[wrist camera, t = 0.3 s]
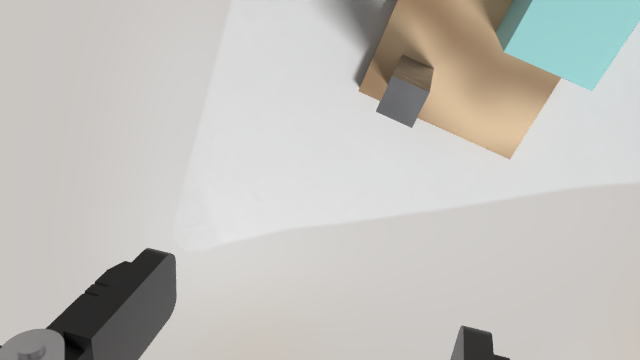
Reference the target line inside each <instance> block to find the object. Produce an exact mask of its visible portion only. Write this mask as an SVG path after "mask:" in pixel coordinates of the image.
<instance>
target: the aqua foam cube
mask: <svg viewBox="0 0 640 360" xmlns="http://www.w3.org/2000/svg"><path fill="white" fill-rule="evenodd" d="M639 21H640V0H513V2H512V4H511V6H510V7H509V9H508V11H507V13H506V15H505V17H504V19H503V20H502V22H501V24H500V26H499V28H498V30H497V32H496V35H497V38H498V40H499V42H500V45H501V47H502V49H503V52H505V53H507V54H509V55H511V56H514V57H516V58H518V59H520V60H523V61H525V62H527V63H530V64H532V65H534V66H536V67H539V68H541V69H543V70H545V71H548V72H550V73H552V74H555V75H557V76H559V77H561V78H564V79H566V80H568V81H570V82H573V83H575V84H577V85H580V86H582V87H584V88H586V89H589V90H591V91H593V89H594V88H595V86H596V85H597V83H598V82H599V80H600V79H601V77H602V76H603V74H604V73H605V71H606V70H607V69H608V67H609V66H610V64H611V63H612V61H613V60H614V58H615V57H616V55H617V54H618V52H619V51H620V49H621V48H622V46H623V45H624V43H625V42H626V40H627V39H628V37H629V36H630V34H631V33H632V31H633V30H634V28H635V27H636V25H637V24H638V22H639Z"/></svg>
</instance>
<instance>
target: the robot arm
mask: <svg viewBox="0 0 640 360" xmlns="http://www.w3.org/2000/svg"><path fill="white" fill-rule="evenodd" d="M175 303H176V261H175V256H174V255H173V254H171V253H167V252H162V251H158V250H154V249H150V248H147V249H145V250H144V251H143V252H142V253H141V254H140V255H139V256H138V257H137V258H136V259H135V260H134V261H133V262H132V263H131V262H127V261H124V262H122V263H120V264H118V265H116V266H114V267H112V268H110V269H108V270H107V271H106V272H105V273H104V274H103V275H102V276H101V277H99V278H98V279H97V280H96V281H95V284H92V285H91V286H90V287H89V288H88V289H87V290H86V291H85V293H84V294H82V295H81V296H80V297H79V298H77V299H76V300H75V301H74V302H73V303H72V304H71V305H70V306H69V307H68V308H67V309H66V310H65V311H64V312H63V313H62V314H61V315H60V316H59V317H57V318H56V319H55V320H54V321H53V322H52V323H51V324H50V325H49V326H48V327H47V328H46V329H35V330H30V331H26V332H23V333H20V334H18V335H16V336H14V337H13V338H11V339H10V340H8V341H7V342H6V343H5V344H4V345H3V346H0V360H138V359H139V358H140V356H141V355H142V354H143V352H144V351H145V350H146V349H147V347H148V346H149V345H150V343H151V342H152V341H153V339H154V338H155V337H156V335H157V334H158V333H159V331H160V330H161V329H162V327H163V326H164V325H165V323H166V322H167V321H168V319H169V318H170V316H171V314H172V312H173V310H174V307H175ZM451 360H510V359H509V358H506V357H502V356H498V355H494V353H493V341H492V334H491V333H490V332H487V331H482V330H478V329H474V328H470V327H466V326H461V328H460V330H459V333H458V337H457V340H456V343H455V347H454V350H453V353H452V357H451Z"/></svg>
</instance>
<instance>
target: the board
mask: <svg viewBox="0 0 640 360" xmlns="http://www.w3.org/2000/svg"><path fill="white" fill-rule="evenodd" d="M512 2H513V0H398V1H397V3H396V5H395V8H394V10H393V12H392V15H391V17H390V19H389V21H388V24H387V26H386V28H385V31H384V33H383V35H382V38H381V40H380V42H379V45H378V47H377V49H376V52H375V54H374V56H373V59H372V61H371V63H370V65H369V68H368V70H367V72H366V75H365V77H364V79H363V82H362V84H361V86H360V89H359V92H362V93H364V94H366V95H368V96H370V97H373V98H375V99H377V100H379V101H381V99H382V97H383V95H384V93H385V90H386V88H387V86H388V84H389V82H390V79H391V77H392V75H393V73H394V71H395V69H396V67H397V65H398V63H399V60H400V58H401V56H402V54H403V55H405V56H407V57H409V58H412V59H414V60H416V61H418V62H421V63H423V64H425V65H427V66H430V67H432V68H434V71H433V77H432V83H431V88H430V93H429V95H428V97H427V99H426V101H425V103H424V105H423V107H422V109H421V111H420V113H419V115H418V117H417V118H419V119H421V120H424V121H426V122H428V123H430V124H433V125H435V126H437V127H439V128H441V129H444V130H446V131H448V132H450V133H453V134H455V135H457V136H459V137H461V138H464V139H466V140H468V141H470V142H473V143H475V144H477V145H479V146H481V147H484V148H486V149H488V150H490V151H492V152H495V153H497V154H499V155H501V156H504V157H506V158H508V159H510V158H511V157H512V155H513V154H514V152H515V150H516V149H517V147H518V146H519V144H520V142H521V141H522V139H523V138H524V136H525V134H526V133H527V131H528V130H529V128H530V126H531V125H532V123H533V122H534V120H535V119H536V117H537V115H538V114H539V112H540V111H541V109H542V107H543V106H544V104H545V103H546V101H547V99H548V98H549V96H550V95H551V93H552V91H553V90H554V88H555V87H556V85H557V84H558V82H559V80H560V79H561V77H559V76H557V75H555V74H552V73H550V72H548V71H545V70H543V69H541V68H539V67H536V66H534V65H532V64H530V63H527V62H525V61H523V60H520V59H518V58H516V57H514V56H511V55H509V54H507V53H505V52H503V49H502V47H501V45H500V42H499V40H498V38H497V35H496V32H497V30H498V28H499V26H500V24H501V22H502V20H503V19H504V17H505V15H506V13H507V11H508V9H509V7H510V6H511V4H512Z"/></svg>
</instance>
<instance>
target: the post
mask: <svg viewBox="0 0 640 360" xmlns="http://www.w3.org/2000/svg"><path fill="white" fill-rule="evenodd" d="M433 71H434V68H432V67H430V66H427V65H425V64H423V63H421V62H418V61H416V60H414V59H412V58H409V57H407V56H405V55H403V54H402V56H401V58H400V60H399V63H398V65H397V67H396V69H395V71H394V73H393V75H392V77H391V79H390V82H389V84H388V86H387V88H386V90H385V93H384V95H383V97H382V99H381V101H380V103H379V106H378V108H377V110H376V112H378V113H380V114H383V115H385V116H387V117H389V118H391V119H394V120H396V121H398V122H400V123H403V124H405V125H407V126H409V127H411V128H412V127H413V125H414V123H415V121H416V119H417V117H418V115H419V113H420V111H421V109H422V107H423V105H424V103H425V101H426V99H427V97H428V95H429V93H430V88H431V83H432V77H433Z"/></svg>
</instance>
